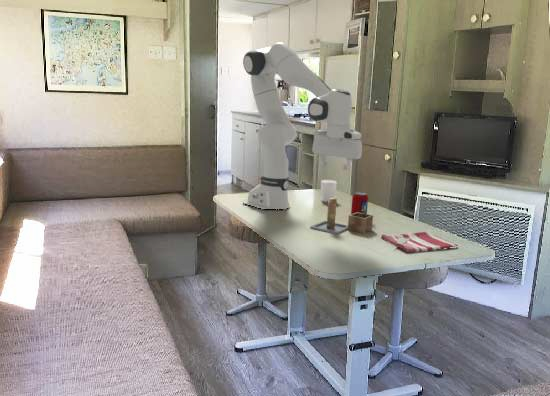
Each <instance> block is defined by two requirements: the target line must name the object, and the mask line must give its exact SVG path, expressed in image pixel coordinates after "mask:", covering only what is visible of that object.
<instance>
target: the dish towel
mask: <svg viewBox="0 0 550 396" xmlns="http://www.w3.org/2000/svg"><path fill="white" fill-rule="evenodd" d="M380 239H382V240H384V241H386V242H387V243H388V244H390V245H392V246H394V247H396V249H398V250H399V251H401V252H402V253H406V254H411V253H422V251H425V252H432V251H431V250H434V251H438V250H437V249H444V248H450V247H455V246H458V244H456V243H453V242H451V241H448V240H446V239H443V238H442V237H439V236H437V235H435V234H433V233H432V232H430V231H422V232H414V233H406V234H405V233H401V234H397V235H386V234H381V237H380ZM399 239H406V241H405V242H403V243H400V242H398V240H399ZM407 239H408V240H407ZM458 247H459V246H458Z"/></svg>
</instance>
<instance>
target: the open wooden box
mask: <svg viewBox="0 0 550 396" xmlns="http://www.w3.org/2000/svg"><path fill="white" fill-rule="evenodd" d="M373 222H374V215H373V214H368V213H367V214H364V213H359V212H356V213H353V214H351V213H350V214H349V215H348V223H347V225H348V230H347V231H349V232H350V231H351V232H355V233H360V234H366V233H368V232H370V231H372V230H373Z"/></svg>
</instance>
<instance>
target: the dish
mask: <svg viewBox="0 0 550 396" xmlns="http://www.w3.org/2000/svg"><path fill="white" fill-rule="evenodd" d="M309 229H312V230H316V231H321V232H325V233H330V234H335V235H339V234H341V233H343V232H345V231H349V230H348V224H342V223H339V222H335V228H334V229H328V228H327V220H323V221H320V222H318V223H315V224H313V225H311V226H310V227H309Z"/></svg>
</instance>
